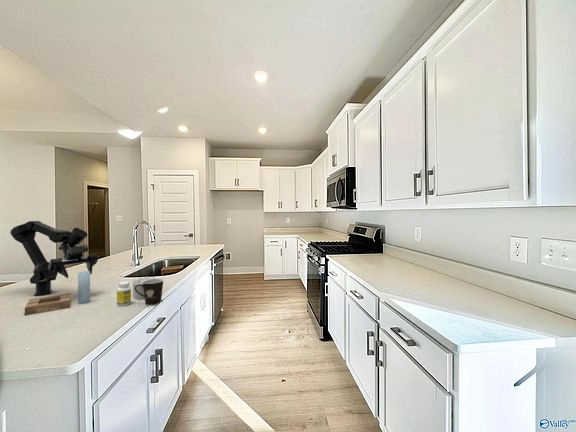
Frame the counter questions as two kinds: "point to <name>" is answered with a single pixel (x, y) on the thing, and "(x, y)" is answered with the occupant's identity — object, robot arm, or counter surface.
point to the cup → (139, 288)
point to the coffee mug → (152, 291)
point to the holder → (48, 304)
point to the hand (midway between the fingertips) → (79, 275)
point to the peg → (83, 287)
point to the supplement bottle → (123, 294)
